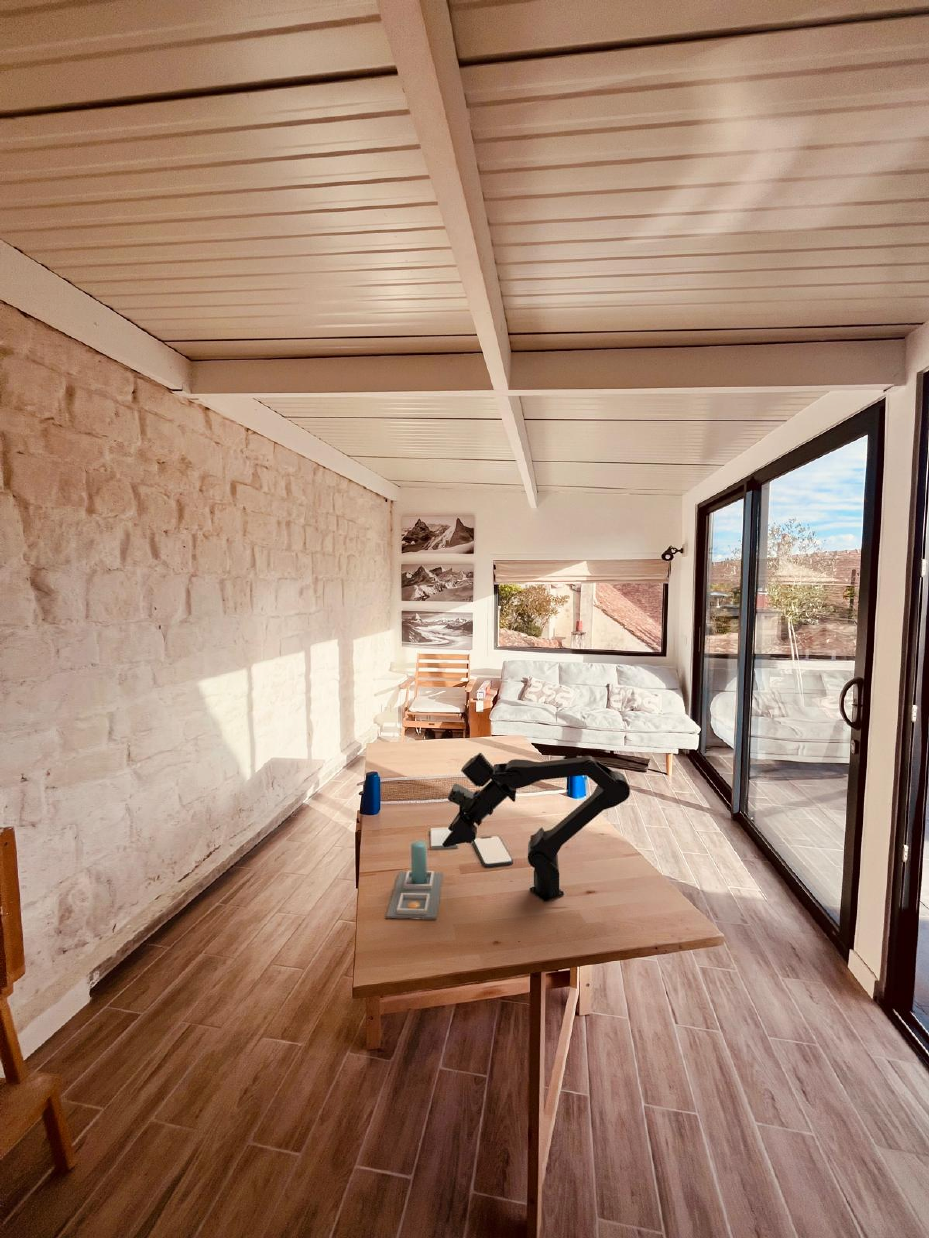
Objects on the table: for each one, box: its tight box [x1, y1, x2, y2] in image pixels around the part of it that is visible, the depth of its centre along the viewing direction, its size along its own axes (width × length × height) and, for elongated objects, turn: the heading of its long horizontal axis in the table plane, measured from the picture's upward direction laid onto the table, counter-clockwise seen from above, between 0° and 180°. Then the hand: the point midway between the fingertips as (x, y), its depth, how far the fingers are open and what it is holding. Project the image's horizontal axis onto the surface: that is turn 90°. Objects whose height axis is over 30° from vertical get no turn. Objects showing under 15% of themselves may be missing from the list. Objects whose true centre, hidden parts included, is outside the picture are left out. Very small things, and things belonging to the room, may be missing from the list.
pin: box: [410, 841, 428, 884], centre depth 148 cm, size 4×4×10 cm
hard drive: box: [429, 826, 459, 850], centre depth 173 cm, size 2×8×12 cm
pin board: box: [385, 870, 444, 920], centre depth 143 cm, size 20×12×2 cm, turn 178°
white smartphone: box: [472, 835, 514, 869], centre depth 165 cm, size 9×2×16 cm
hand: (446, 837), depth 146 cm, fingers open, 9 cm apart
